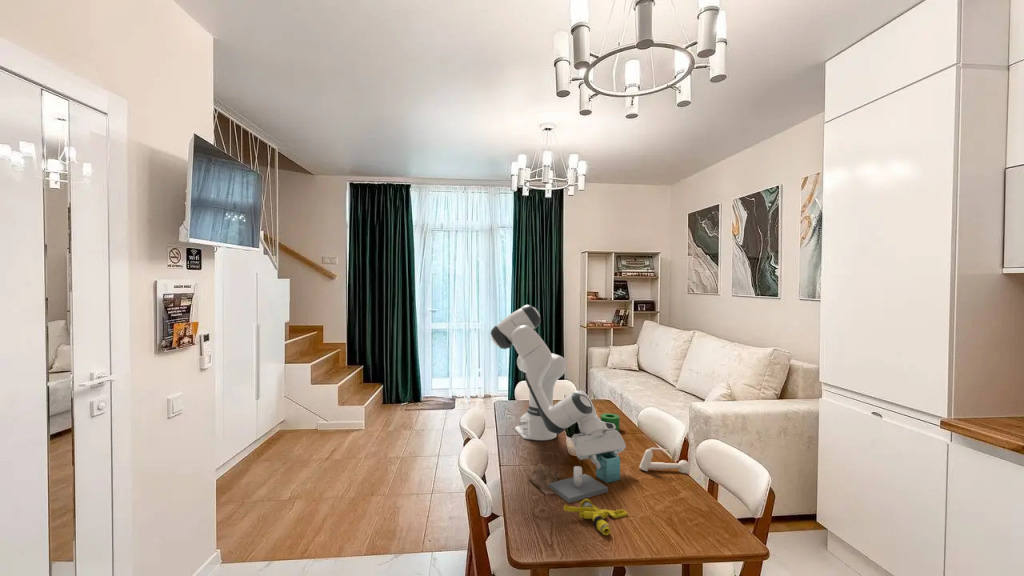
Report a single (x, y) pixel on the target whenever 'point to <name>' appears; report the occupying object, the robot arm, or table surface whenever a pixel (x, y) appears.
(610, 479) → the teal square cup
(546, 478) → the wooden fragment
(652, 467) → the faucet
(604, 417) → the green bracket
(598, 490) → the post
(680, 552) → the table surface
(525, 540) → the table surface
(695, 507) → the table surface
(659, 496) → the table surface
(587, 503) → the sprinkler
